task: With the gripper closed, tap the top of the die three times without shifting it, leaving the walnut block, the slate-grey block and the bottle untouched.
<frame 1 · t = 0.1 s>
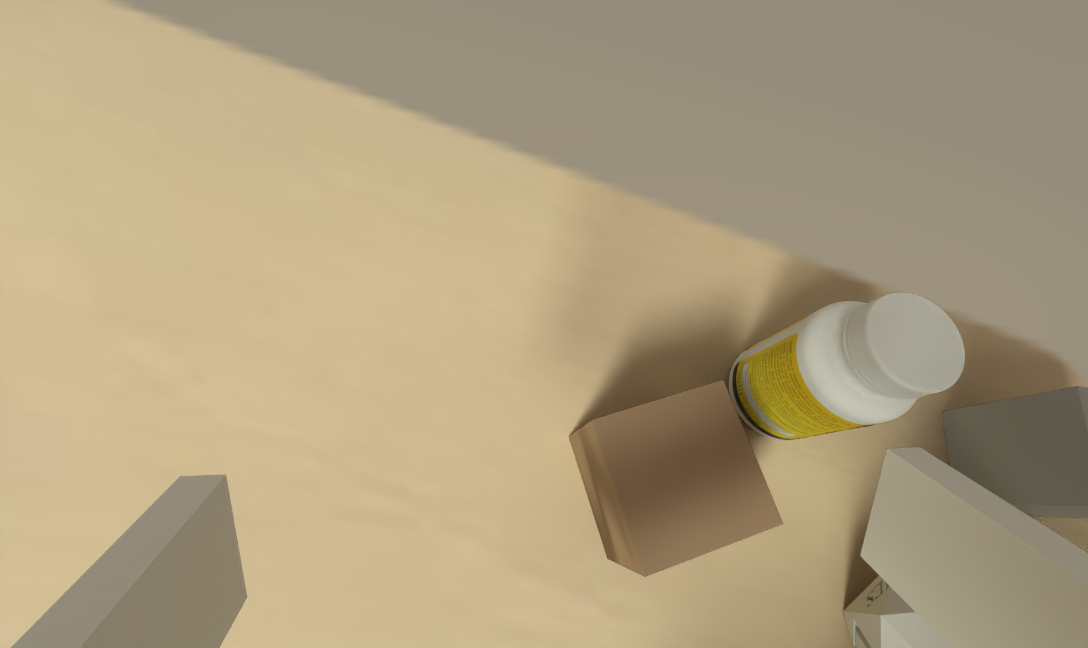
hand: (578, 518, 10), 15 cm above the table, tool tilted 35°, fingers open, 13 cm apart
grey block: (989, 462, 28), on the table
supplement bottle: (770, 392, 28), on the table
die: (895, 637, 25), on the table
walnut block: (641, 476, 26), on the table
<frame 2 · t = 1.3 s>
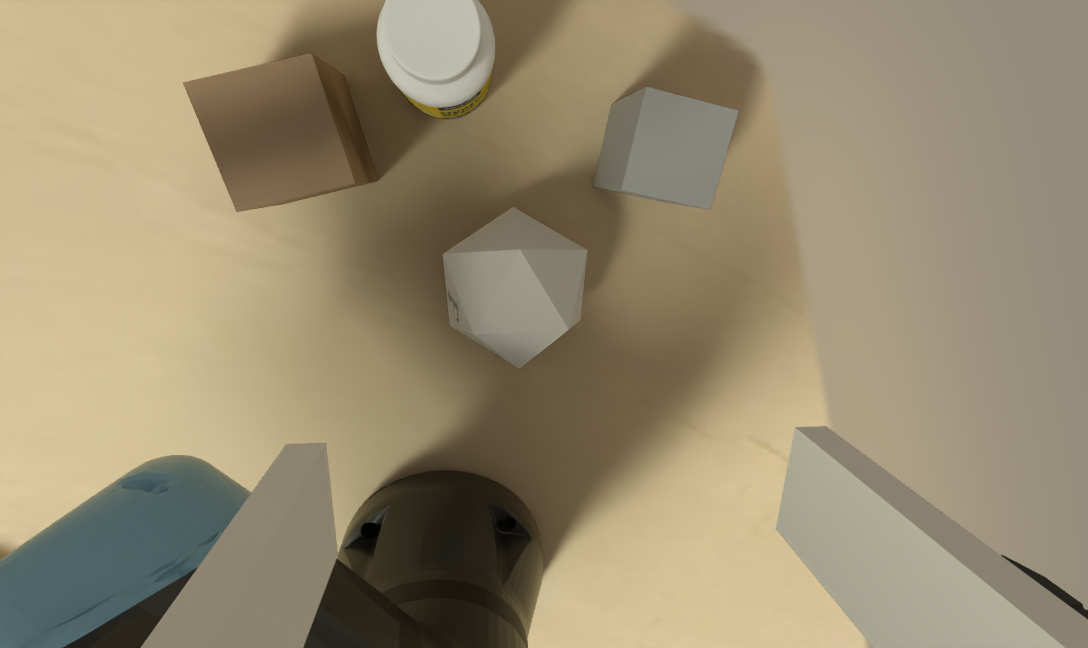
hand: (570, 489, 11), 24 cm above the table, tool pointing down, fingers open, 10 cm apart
grey block: (638, 155, 32), on the table
supplement bottle: (446, 72, 30), on the table
die: (512, 276, 34), on the table
walnut block: (312, 141, 30), on the table
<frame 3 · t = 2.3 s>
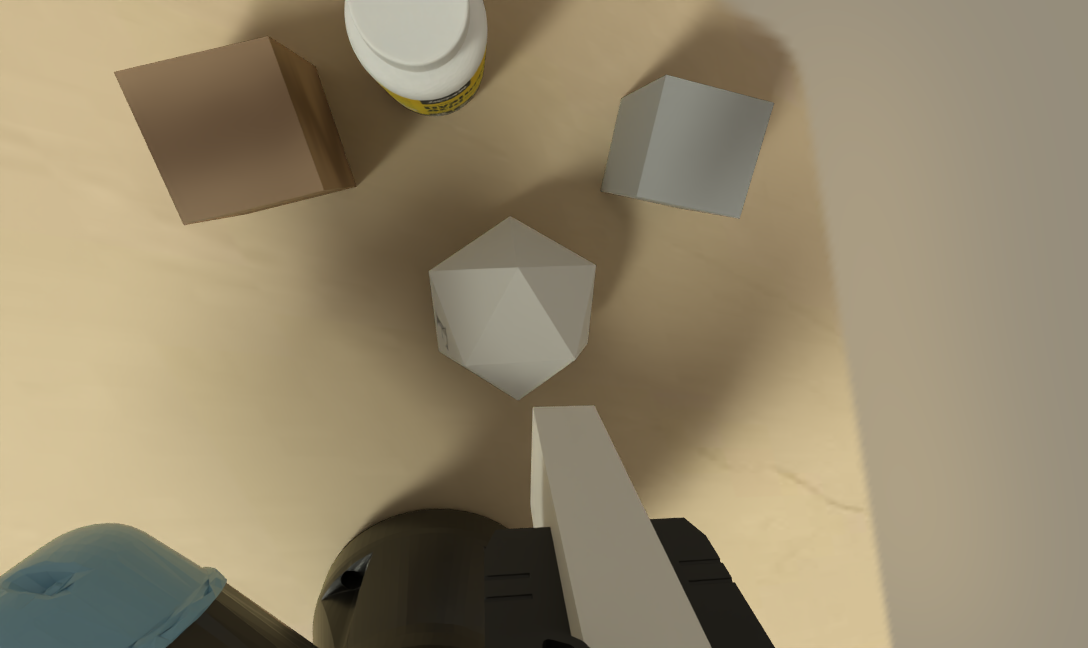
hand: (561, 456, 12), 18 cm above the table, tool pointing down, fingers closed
grey block: (652, 155, 29), on the table
supplement bottle: (432, 61, 26), on the table
die: (509, 292, 30), on the table
walnut block: (280, 142, 26), on the table
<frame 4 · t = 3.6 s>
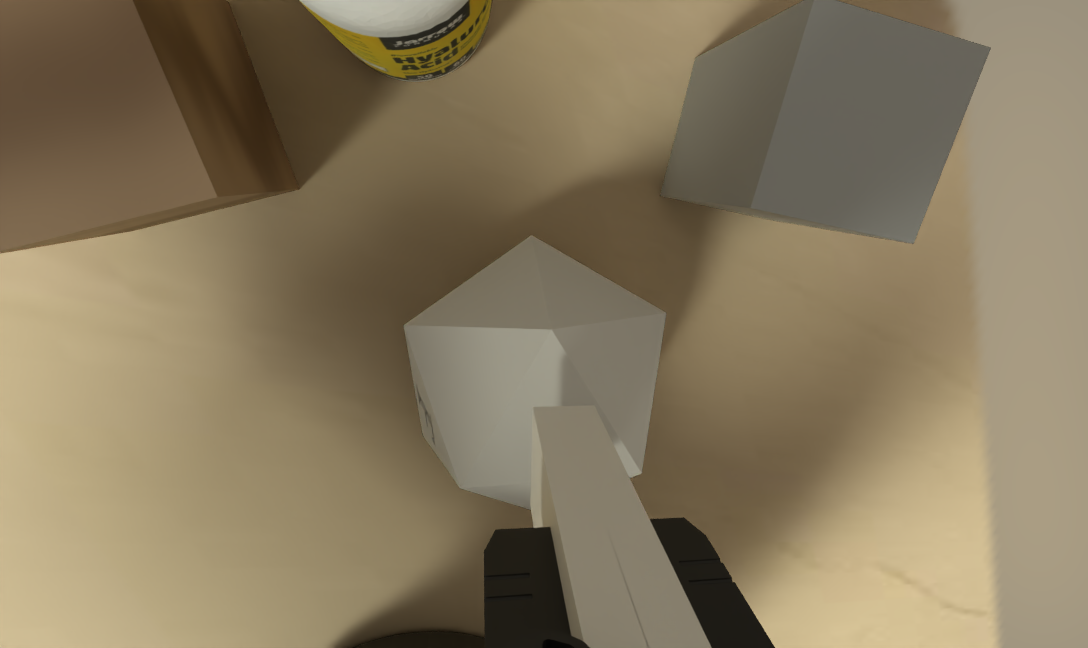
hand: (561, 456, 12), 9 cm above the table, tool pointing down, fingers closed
grey block: (736, 143, 20), on the table
die: (526, 340, 21), on the table
walnut block: (179, 122, 17), on the table
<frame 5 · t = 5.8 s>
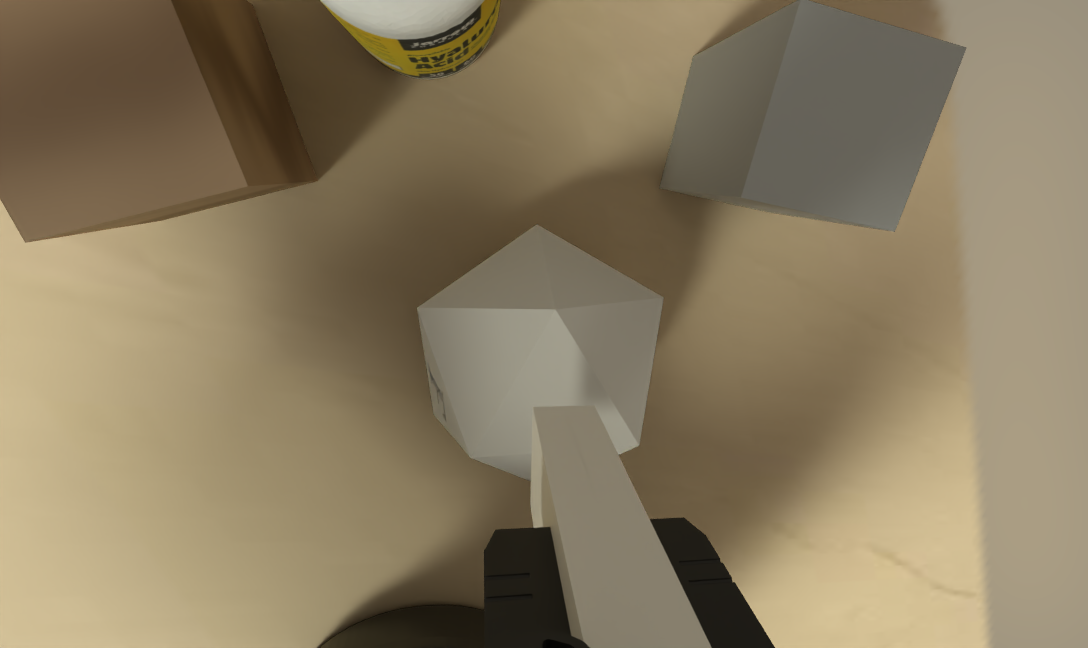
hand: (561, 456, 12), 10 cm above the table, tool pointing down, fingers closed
grey block: (732, 138, 21), on the table
supplement bottle: (424, 0, 18), on the table
die: (531, 326, 22), on the table
walnut block: (205, 117, 18), on the table
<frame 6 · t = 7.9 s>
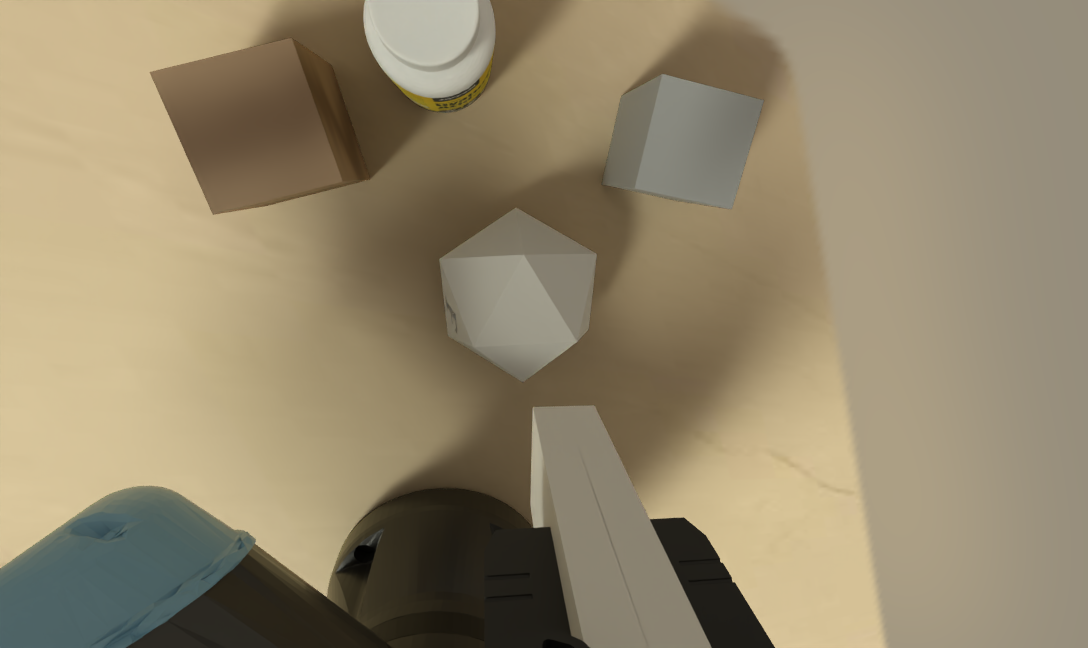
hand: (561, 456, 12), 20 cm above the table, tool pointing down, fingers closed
grey block: (650, 150, 30), on the table
supplement bottle: (442, 61, 28), on the table
die: (514, 281, 32), on the table
walnut block: (298, 137, 28), on the table
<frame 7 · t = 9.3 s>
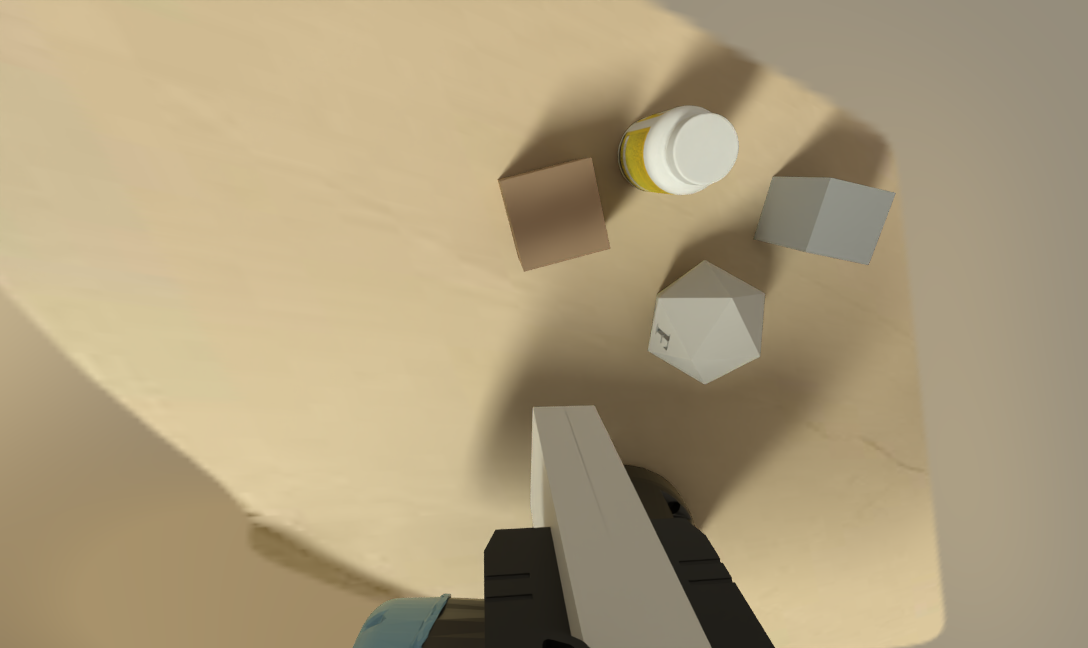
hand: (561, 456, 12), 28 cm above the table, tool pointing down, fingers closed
grey block: (790, 214, 41), on the table
supplement bottle: (650, 154, 39), on the table
die: (684, 309, 43), on the table
walnut block: (546, 209, 39), on the table
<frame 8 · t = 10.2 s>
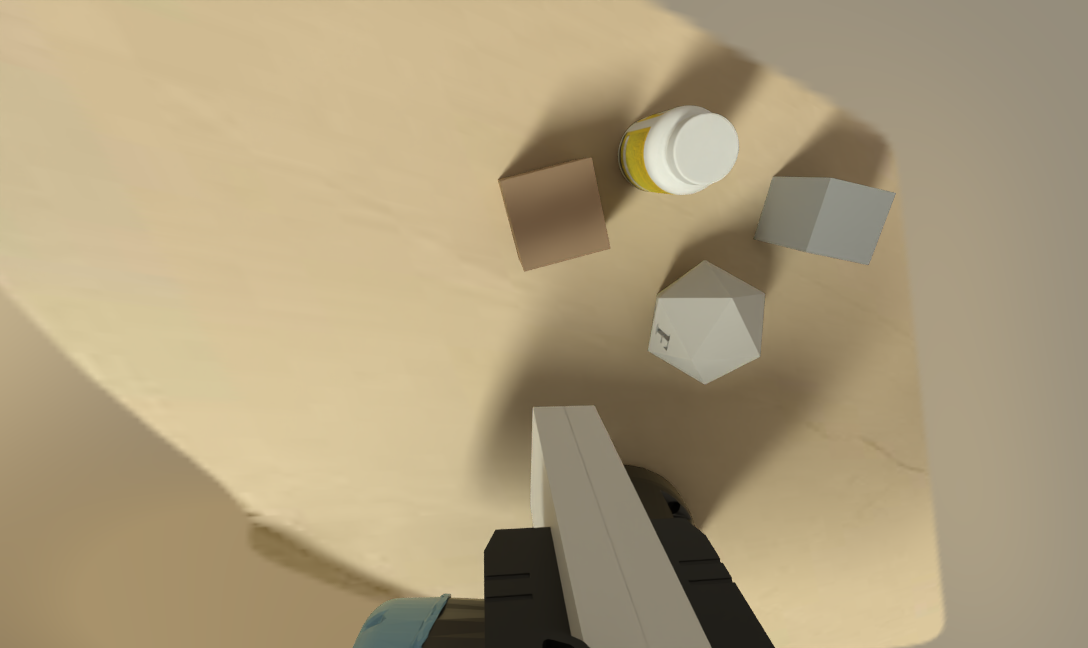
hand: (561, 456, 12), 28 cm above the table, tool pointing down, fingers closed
grey block: (790, 214, 41), on the table
supplement bottle: (650, 154, 39), on the table
die: (684, 309, 43), on the table
walnut block: (546, 209, 39), on the table
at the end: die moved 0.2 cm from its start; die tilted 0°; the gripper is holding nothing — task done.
